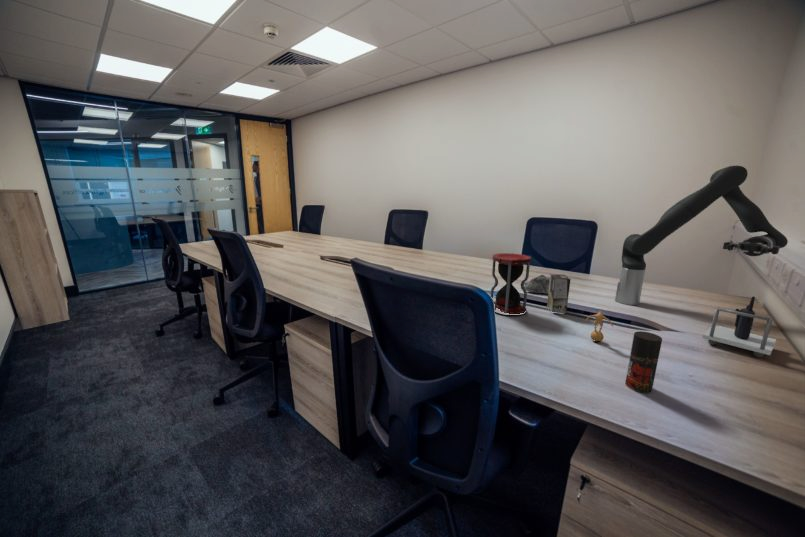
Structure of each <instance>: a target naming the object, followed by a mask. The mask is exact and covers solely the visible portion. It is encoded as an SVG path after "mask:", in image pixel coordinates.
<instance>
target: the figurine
mask: <svg viewBox="0 0 805 537" xmlns="http://www.w3.org/2000/svg"><path fill="white" fill-rule="evenodd" d="M590 318H595V319H596V320H594V330H593V331H592V332H591V333H590V338H591V340H592V341H593V340H595V341H600V342H602V341H603V340H604V336H605V335H604V333H602V329H603V326H604V322H603V319H604V320H607V321H608V322H609V324H610V326H611V327H614V326H613V325H614V324H613V323H612V322H611V319H609V318H607V317H606V316H605V315H603V312H602V311H598V313H596V314H593V315H592V314H591V315H589V316H587V317H586V319H585V322H587V321H588V320H589V319H590ZM597 325H599V326H600V327H599V330H597ZM595 341H594V342H595Z"/></svg>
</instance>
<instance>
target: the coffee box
mask: <svg viewBox="0 0 805 537" xmlns="http://www.w3.org/2000/svg"><path fill="white" fill-rule="evenodd" d="M549 277H550V282H549V291H548V294H547V303H546V308H547V310H549V309H550V310H551V311H552V312H561V313H566V314H567V310H568V301H569V295H570V294H569V292H570V288H571V279H570V278H569V277H568V276H567V275H565V274H551V273H550V275H549Z"/></svg>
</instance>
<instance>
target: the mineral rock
mask: <svg viewBox="0 0 805 537" xmlns="http://www.w3.org/2000/svg"><path fill="white" fill-rule="evenodd" d="M549 282H550V276H545V275H544V274H540V275H538V276H536V277H534V278H531V279H530V280H528V281H526V282H525V283H524V289H525V290H526V292H530V293H534V292H535V293H534V294H546V295H548V291H549Z"/></svg>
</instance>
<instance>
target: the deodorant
mask: <svg viewBox="0 0 805 537" xmlns="http://www.w3.org/2000/svg"><path fill="white" fill-rule="evenodd" d="M662 342H663V337H661V336H660V335H657V334H656V333H652V332H648V331H635V332H633V338H632V343H631V344H632V345H631V350H630V355H629V359H628V361H629V362H628V364H627V371H626V377H625V384H624V385H625V386H626V387H627V388H629V389H630V390H632V391H634V392H638V393H642V394H651V393H652V392H653V388H654V382H655V377H656V373H657V367H658V362H659V359H660V358H659V357H660V352H661V349H662V348H661V347H662Z"/></svg>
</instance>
